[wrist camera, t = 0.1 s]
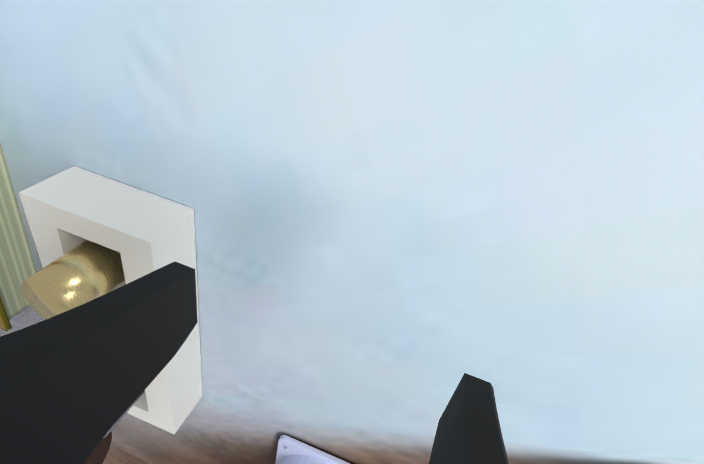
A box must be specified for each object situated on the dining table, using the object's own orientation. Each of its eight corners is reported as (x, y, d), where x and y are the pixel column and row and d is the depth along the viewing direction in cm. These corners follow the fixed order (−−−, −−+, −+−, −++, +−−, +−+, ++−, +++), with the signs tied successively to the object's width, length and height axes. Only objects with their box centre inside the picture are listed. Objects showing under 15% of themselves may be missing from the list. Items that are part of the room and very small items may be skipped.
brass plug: (133, 286, 25) (78, 334, 22) (91, 268, 26) (30, 313, 23) (127, 246, 24) (65, 292, 21) (81, 228, 24) (14, 270, 21)
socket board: (202, 395, 35) (174, 434, 32) (117, 358, 36) (83, 392, 33) (193, 208, 24) (150, 242, 21) (74, 165, 25) (18, 192, 23)
